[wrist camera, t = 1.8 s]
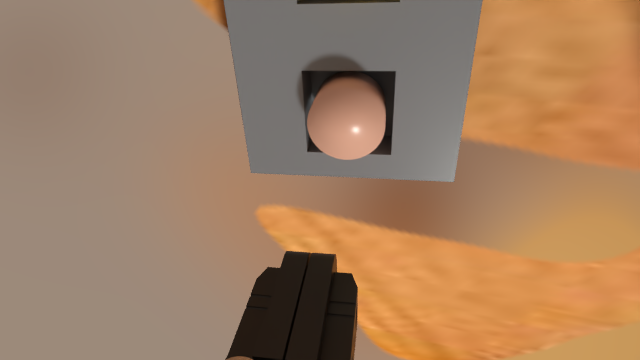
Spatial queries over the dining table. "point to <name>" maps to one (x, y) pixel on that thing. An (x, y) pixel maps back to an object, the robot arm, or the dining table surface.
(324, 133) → the terracotta button
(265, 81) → the button console
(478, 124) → the dining table surface
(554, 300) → the dining table surface
